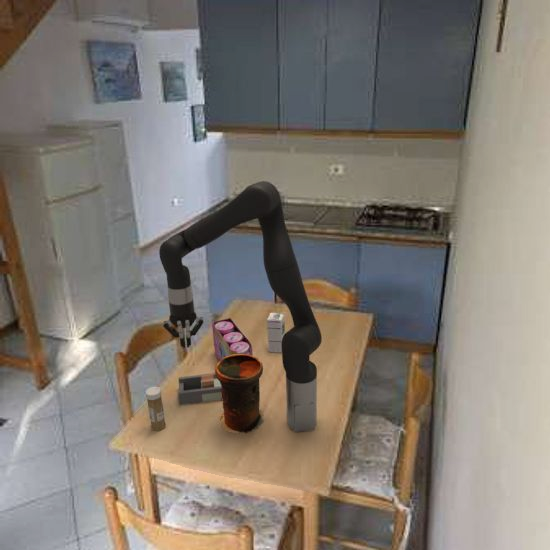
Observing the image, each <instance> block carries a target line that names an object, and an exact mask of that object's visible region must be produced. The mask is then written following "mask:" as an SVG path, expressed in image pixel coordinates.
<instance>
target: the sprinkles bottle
mask: <svg viewBox="0 0 550 550" xmlns="http://www.w3.org/2000/svg"><path fill="white" fill-rule="evenodd" d="M145 398H146V401H147V408H148V414H149V420H150V428H151V430H153V431H157V432H159V431H161V430H163V429H164V428H165V427H166V425H167V424H166V419H165V413H164V412H165V411H164V406H163V405H164V404H163V399H162V388H160V387H159V386H150V387H148V388H147V389H146V391H145Z"/></svg>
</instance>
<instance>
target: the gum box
mask: <svg viewBox="0 0 550 550" xmlns="http://www.w3.org/2000/svg"><path fill="white" fill-rule="evenodd" d="M211 328H212V336H213V337H212V338H213V347H214V354H215V355H216V357H217V359H218V360H219V361H220V360H222V359H223V358H224V357H226V356H229V355H233V354H248V355H251V356H254V354H253V345H252V343H251V341H250V340H249V338H247V336H246V335H245V334H244V333H243V332H242V331H241V330H240V329H239V327H238V326H237V325H236V323H235V322H234V321H233V320H232V317H230V318H224V319H221V320H216V321H215V320H214V321H212V323H211Z"/></svg>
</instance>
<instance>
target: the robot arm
mask: <svg viewBox="0 0 550 550" xmlns="http://www.w3.org/2000/svg"><path fill="white" fill-rule="evenodd" d="M253 220H258V223H259V226H260V229H261V233H262V242H263V243H262V246H263V247H262V248H263V249H262V251H263V252H262V254H263V255H262V256H263V257H262V258H263V267H264V270H265V273H266V276H267V280H268V283H269V286H270V288H271V290H272V291H273V292H274V294H275V295H276V296H277V297H278V298H279V299H280V300H281V301H282V302H283V303H284V304H285V305H286V307H287V308H288V310H289V312H290V315H291V318H292V323H293V327H291V328H290V329H289V330H288V331H285V334H284V336H283V338H282V344H281V346H282V353H281V357H282V367H283V370H284V371H285V391H286V393H285V394H286V396H285V397H286V398H285V399H286V402H285V403H286V423H287V425H288V427H289V428H291V429H292V430H294V433H299V432H307V431H313V430H315V429H316V425H317V412H318V410H317V405H318V402H317V401H318V399H317V397H318V396H317V394H318V393H317V392H318V391H317V390H318V388H317V387H318V386H317V385H318V369H317V366H316V364H315V363H314V362H313V361H311V360H310V357H311V355H312V354H313V353H314V352H316V351H317V349H319V347H320V346H321V344H322V333H321V329H320V326H319V324H318V321H317V319H316V317H315V315H314V311H313V310H312V307H311V304H310V302H309V298H308V295H307V292H306V289H305V285H304V282H303V277H302V275H301V272H300V267H299V265H298V261H297V257H296V255H295V252H294V248H293V244H292V242H291V238H290V235H289V233H288V229H287V226H286V221H285V216H284V210H283V206H282V199H281V195H280V193H279V190H278V188H277V187H276V186H275V185H274V184H273V183H271V182H270V181H267V180H262V181H258V182H255V183H252V184H250V185H248V186H246V187H245V188H244V189H243V190H242V191H241V192H240V193H238V195H236V197H235V198H233V199H232V200H231V201H230V202H228V203H227V204H225V205H224V206H223V207H222V208H221V207H220V209H218V210H216V211H215V212H213V213H211V214H209V215H207V216H205V217H202V218H201V219H200V220H198V221H196V222H195V223H193V224H190V226H189V227H187V228H185V229H183V230H181V231H179V232H177V233H175V234H174V235H172V236H170V237H169V238H168V239H166V240H164V241H163V242H162V243H161V244H160V247H159V252H158V253H159V254H158V255H159V259H160V262H161V265H162V267H163V270H164V273H165V274H166V282H167V298H168V304H169V313H170V315H169V319H167V320H164V321H163V328H164V329H165V330H167V332H168V333H169V334H170V335H172V337H174V338H178V339H179V342H180V343H179V344H180V347H182V348H183V349H185V348H188V349H189V348H190V346H192V341H191V340H192V339H191V337H192V336H196V335H197V333H198V331H199V330H200V328H201V327H202V326H203V325H204V317H202V316H201V317H199V316H198V315H197V313H196V312H195V303H194V294H193V289H192V282H191V273H190V269H189V267H188V266H187V265H185V264H183V258H185V257H186V256H187V255H189V254H190V253H192V252H194V251H195V250H197V249H198V250H199V249H201V248H203V247H205V246H206V245H209V244H210V243H212V242H214V241H215V240H217V239H219V238H220V237H221V236H223V235H225V234H226V233H228V231H231V230H232V229H233V228H236V227H238V226H240V225H242V224H245V223H247V222H251V221H253ZM194 322H195V325H194V326H193V324H194ZM172 325H174V326H175V327H173V326H172ZM191 326H193V327H192V329H191ZM177 329H178V330H177ZM184 329H185V333H186V334H185V335H184ZM185 339H186V340H185Z"/></svg>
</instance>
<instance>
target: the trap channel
mask: <svg viewBox="0 0 550 550" xmlns="http://www.w3.org/2000/svg"><path fill="white" fill-rule="evenodd" d="M208 374H209V373H203V374H194V375H187V376H180V377H179V376H178V392H177V393H178V402H179V405H180V406H182V405H190V404H197V403H205V402H214V400H215V401H220V400H221V399H222V393H221V388H222V386H221V384H220V381H219V380H218V379H217V378H216V375H215V372H212V373H210V374H213V378H214V387H211V388H203V389H202V379H201V375H208ZM221 401H222V400H221Z"/></svg>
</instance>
